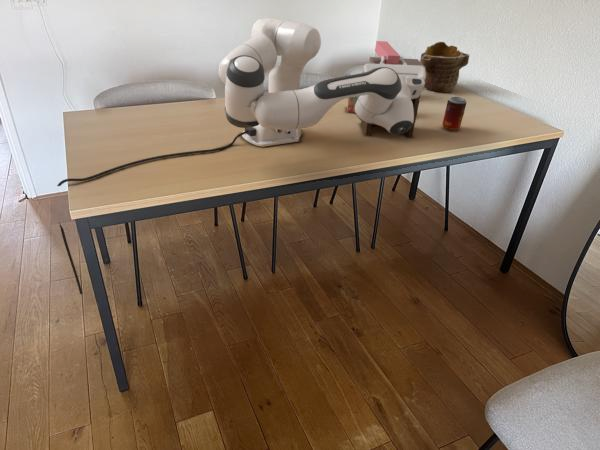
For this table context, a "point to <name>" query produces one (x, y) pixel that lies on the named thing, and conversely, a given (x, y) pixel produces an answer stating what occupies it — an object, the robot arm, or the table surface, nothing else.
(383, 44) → the pink block
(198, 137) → the table surface
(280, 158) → the table surface
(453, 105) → the soda can
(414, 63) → the walnut shelf
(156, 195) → the table surface
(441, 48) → the brown wicker basket
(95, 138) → the table surface
